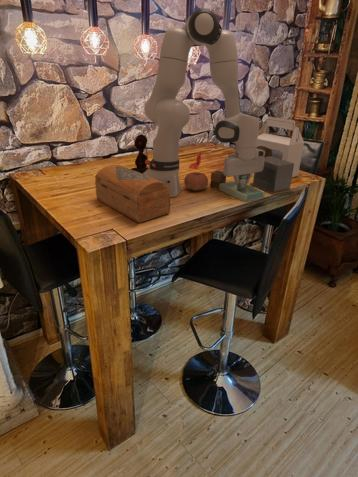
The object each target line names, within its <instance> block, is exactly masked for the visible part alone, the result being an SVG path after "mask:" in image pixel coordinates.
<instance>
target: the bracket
mask: <svg viewBox="0 0 358 477" xmlns="http://www.w3.org/2000/svg"><path fill="white" fill-rule="evenodd" d="M201 162H202V152H201V151H198V152H197V155H196V162H193V163H190V165H189V166H188V168H190V169H198V168H199V165H200V164H201Z"/></svg>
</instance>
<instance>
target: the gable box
mask: <svg viewBox="0 0 358 477" xmlns="http://www.w3.org/2000/svg"><path fill="white" fill-rule="evenodd" d="M265 120H266V121H263V122H262V125H261V127H259V133H258V137H257V148H258V149H260V150H263V151H265V155H264V156H263V157H271V156H273V151H279V152H281V153H282V157H281V159H282V160H285V161H288V162H292V163H294V168H293V174H292V178H295V177H298V176H299V172H300V166H301V161H302V157H303V156H302V155H303V150H304V144H305V141H304V139H303V136H302V134H301V131H300V127H298V126H297V121H296V120H295V119H289V118H288V119H287V118H283V117H275V116H268V117H267V118H266V119H265ZM270 127H273V128H280V129H285V130H290V131H292V134H291V137H288V136H283V135H277V134H273V133H269V129H270Z"/></svg>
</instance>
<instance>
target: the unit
mask: <svg viewBox="0 0 358 477" xmlns="http://www.w3.org/2000/svg"><path fill="white" fill-rule="evenodd" d="M293 168H294V163H292V162H288V161H285V160H282V158H279V157H276V156H273V155H272V156H271V157H264V168H263V170H262V171H261V172H256V173H253V181H252V182H249V185H250V186H252V187H255V188H257V189H259V190H262V191H264V192H265V193H268V194H270V195H272V196H277V195H280V194H285V193H289V192H294V189H293V188H291V185H292V184H291V183H292V179H293V177H292V174H293Z"/></svg>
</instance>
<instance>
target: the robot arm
mask: <svg viewBox="0 0 358 477" xmlns="http://www.w3.org/2000/svg"><path fill="white" fill-rule="evenodd" d="M201 46H204V47H205V48H206V50H207V52H208V55H209V56H208V57H209V58H208V59H209V72H210V73H209V74H210V76H211V80H212V83H213V84H214V85H215V86H216V87H217V88H218V89H219V90H220V91H221V92H222V94H223V98H224V108H225V118H224V119H222V120H220V121H218V122H217V123H216V125H214V129H213V130H214V131H213V132H214V133H213V134H214V137H215V138H216V140H217V141H218V142H219V143H224V144H228V143H229V144H230V143H235V149H234V153H233V154H231V153H230V154H228V155H227V156H225V158H224V164H223V169H222V172H223V174H224V175H225V176H226V178H231V177H233V179H234V180H233V181H235V185H240V181H239V180H238V178H239V175H244V174H247V175H248V178H247V184H250V181H251V178H252V176H253V174H254V173H256V172H261V171H262V170H263V168H264V157H263V156H264V155H265V151H263V150H260V149H258V148H257V137H258V133H259V130H260V118H259V115H258V114H256V113H255V112H251V111H247V110H245V111H242V110H241V102H240V101H241V100H240V92H239V91H240V90H239V62H238V60H239V58H238V57H239V56H238V48H237V42H236V37H235V35H234V32H232V31H230V30H228V29H223V28H222V25H221V24H220V22H219V20H218V18H217V17H216V15H215V13H214V12H213V11H212V10H210V9H209V8H203V7H201V8H198V9H196V10H195V11H193V13H191V14H190V16H189V17H188V18H187V20H186V22H185V23H184V25H183V26H182V27H179V26H172V27H169V28H168V29H167V30H166V31H165V33H164V36H163V40H162V43H161V47H160V52H159V58H158V65H157V66H158V68H157V74H156V80H155V83H154V86H153V89H152V90H151V94H150V96H149V98H148V99H147V100H146V102H145V104H144V107H143V108H144V114H145V116H146V118H148V120H150V121H151V122H152V123H154V124H156V125H158V129H157V132H156V135H155V137H154V139H153V141H152V159H151V160H149V159H148V160H146V161H145V163H146V164H147V166H148V168H149V169H147V170H146V171H145V172H144V173H143V174H145V175H147V176H149V177H151V178H154V179H156V180H159V181H161V182H163V183H164V184H165V185H167V186H168V187H169V188H170V198H173V197H178V196H179V194H180V193H181V192H182V187H181V183H180V176H179V175H180V174H179V172H180V171H179V170H180V159H179V158H180V157H179V153H180V140H181V139H180V138H181V135H182V133H183V129H184V128H185V127H186V125H188V123H189V121H190V118H191V112H190V111H191V110H190V109H189V107H188V105H186V104H185V103H184V102H183V101H181V100H179V99H176V98H177V96H178V93H179V91H180V90H181V88H182V87H183V86H184V85H185V82H186V81H185V80H186V75H187V68H188V61H189V55H190V52H191V49H192V48H193V47H194V48H195V47H201Z"/></svg>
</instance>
